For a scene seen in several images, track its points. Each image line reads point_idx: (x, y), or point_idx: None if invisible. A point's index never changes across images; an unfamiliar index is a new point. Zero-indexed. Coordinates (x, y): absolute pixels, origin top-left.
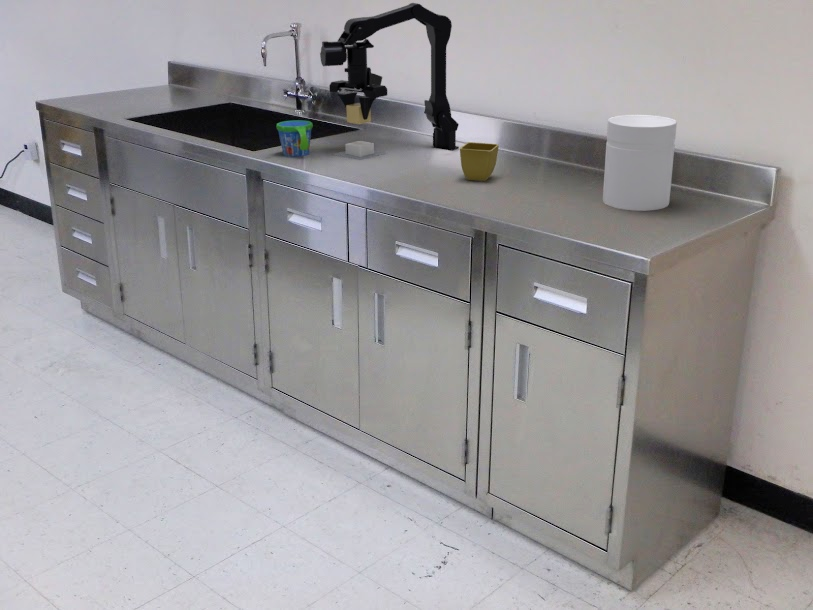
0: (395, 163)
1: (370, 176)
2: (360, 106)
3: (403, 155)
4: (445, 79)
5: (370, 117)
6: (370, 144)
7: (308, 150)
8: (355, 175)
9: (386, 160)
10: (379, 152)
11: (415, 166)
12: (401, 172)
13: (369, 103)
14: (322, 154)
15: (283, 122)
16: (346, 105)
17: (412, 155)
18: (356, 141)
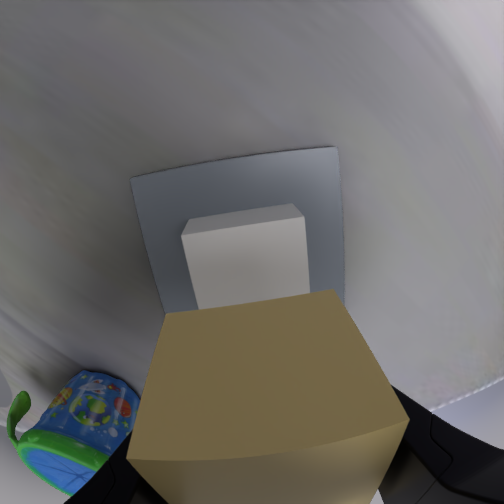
0: (435, 218)
1: (449, 360)
2: (365, 498)
3: (366, 88)
4: None
5: (346, 315)
6: (306, 244)
7: (127, 400)
8: (415, 383)
9: (382, 209)
10: (300, 173)
11: (493, 201)
12: (493, 280)
13: (455, 466)
14: (109, 331)
15: (39, 473)
16: None
17: (391, 65)
18: (189, 261)
